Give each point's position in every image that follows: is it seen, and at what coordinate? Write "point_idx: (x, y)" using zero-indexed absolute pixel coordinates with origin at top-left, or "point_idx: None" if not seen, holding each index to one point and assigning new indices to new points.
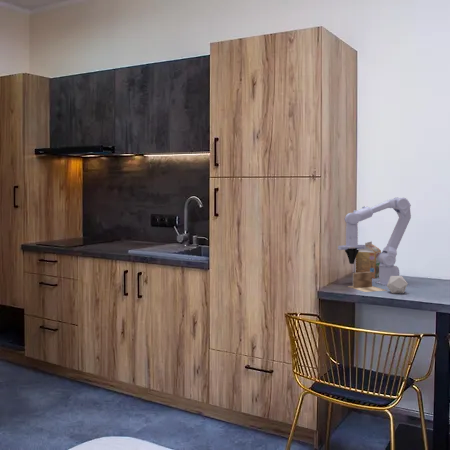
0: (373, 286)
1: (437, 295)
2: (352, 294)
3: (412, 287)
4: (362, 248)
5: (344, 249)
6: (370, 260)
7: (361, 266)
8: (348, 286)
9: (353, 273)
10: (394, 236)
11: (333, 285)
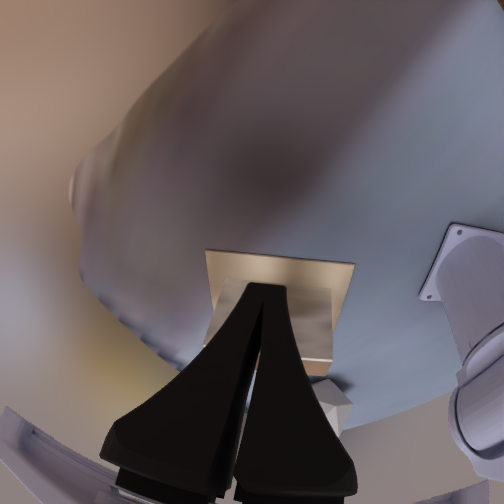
0: (339, 305)
1: (377, 414)
2: (165, 351)
3: (448, 351)
4: (432, 502)
5: (87, 459)
6: None
7: None
8: (211, 255)
9: (204, 345)
10: None
11: (146, 181)
